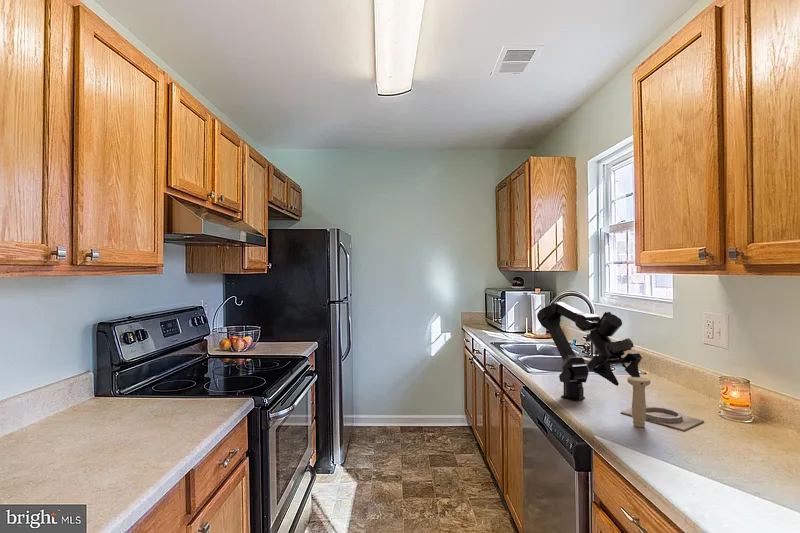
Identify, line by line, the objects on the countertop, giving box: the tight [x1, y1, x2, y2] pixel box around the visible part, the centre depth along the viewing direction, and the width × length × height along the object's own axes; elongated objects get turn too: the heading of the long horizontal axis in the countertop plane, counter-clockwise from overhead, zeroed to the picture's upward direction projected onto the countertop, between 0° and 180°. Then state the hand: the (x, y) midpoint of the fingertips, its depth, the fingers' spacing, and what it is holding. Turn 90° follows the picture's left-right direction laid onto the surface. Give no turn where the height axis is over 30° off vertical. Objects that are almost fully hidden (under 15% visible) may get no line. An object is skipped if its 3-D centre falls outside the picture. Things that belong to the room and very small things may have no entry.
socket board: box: [620, 405, 705, 432], centre depth 147 cm, size 20×14×2 cm
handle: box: [627, 376, 651, 428], centre depth 139 cm, size 5×6×15 cm
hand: (629, 383), depth 143 cm, fingers open, 9 cm apart
